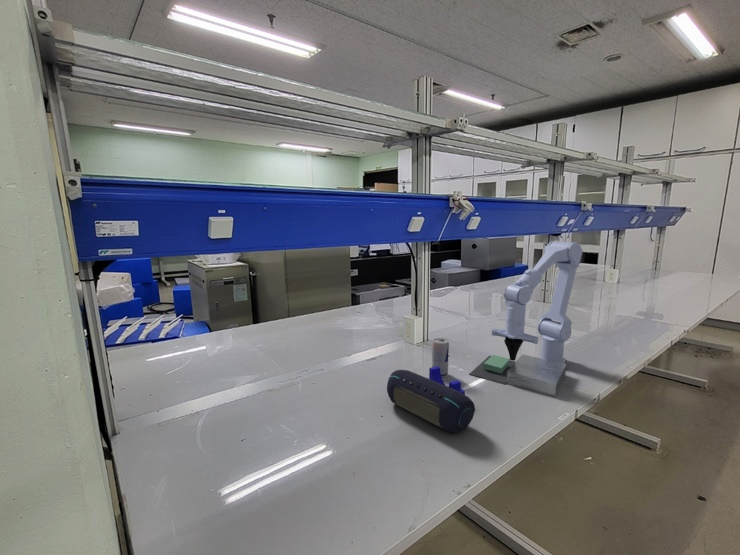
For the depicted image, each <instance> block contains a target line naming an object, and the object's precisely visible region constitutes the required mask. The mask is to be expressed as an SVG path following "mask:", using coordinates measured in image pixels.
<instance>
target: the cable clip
mask: <svg viewBox="0 0 740 555" xmlns="http://www.w3.org/2000/svg"><path fill="white" fill-rule="evenodd" d="M428 369H429V370H428V371H429V372H428V374H429V375H428V379H430V380H433V381H435V382H438V383H440V384H443V385H445V386H447V385H446V383H445V382H444V380H443V378H442V377H441V373H440V368H439V367H438V366H437V367H432V366H431V367H429V368H428ZM448 387H450V388H453V389H455V390H457V391H460V392H462V393H463V394H464V395H466V391H465V390H464V389H463V388H462V382H461V381H460V380H458V379H457V380H452V381H449V383H448Z"/></svg>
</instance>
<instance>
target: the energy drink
mask: <svg viewBox="0 0 740 555" xmlns="http://www.w3.org/2000/svg"><path fill="white" fill-rule="evenodd" d="M449 345H450V344H449V340H447V339H446V338H434V339H433V341H432V350H431V351H432V352H431V353H432V354H431V368H432V367H437V366H438V367H439V368H440V373H441V377H442V379H443V378H446V377H447V376H448V375H449V374H448V373H449V349H450V346H449Z"/></svg>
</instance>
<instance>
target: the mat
mask: <svg viewBox="0 0 740 555" xmlns="http://www.w3.org/2000/svg"><path fill="white" fill-rule="evenodd" d="M491 356H492V355H488V357H486V358H485V359H484V360H483V361H482V362H481V363H480V364H478V365H477V366H475V368H474V369H473V370H472V371H471V372H470V373H468V375H469V376H473V377H475V378H480V379H483V380H487V381H492V382H494V383H498V384H501V385H506V384H507V371H508V370H509V369H510V368H511V367H512V366H513V365H514V363H515V362H516V360H514V361H513V360H510V364H509V365H508V367H507V368H506V369H505V370H504V371H503V372H502V373H497V372H494V371H490V370H487V369H484V363H485V362H486V361H487V360H488V359H489V358H490V357H491Z"/></svg>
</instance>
